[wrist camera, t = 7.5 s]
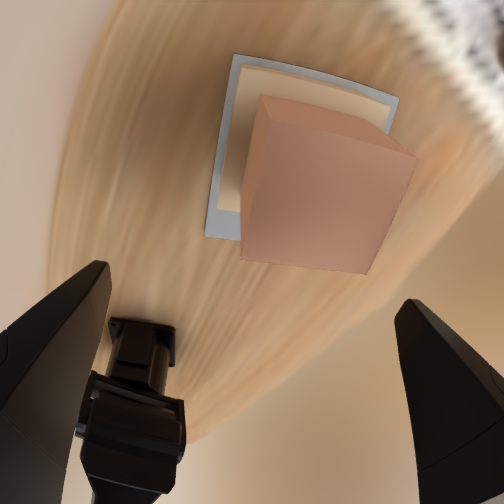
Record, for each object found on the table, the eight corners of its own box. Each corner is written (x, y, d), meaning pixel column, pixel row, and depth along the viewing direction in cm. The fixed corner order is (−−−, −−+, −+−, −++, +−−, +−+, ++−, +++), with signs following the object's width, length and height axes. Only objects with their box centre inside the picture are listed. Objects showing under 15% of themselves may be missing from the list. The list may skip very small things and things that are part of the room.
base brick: (329, 195, 20) (346, 229, 17) (220, 176, 19) (216, 209, 16) (361, 92, 16) (390, 106, 12) (241, 63, 15) (241, 68, 11)
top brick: (336, 210, 16) (366, 274, 12) (240, 194, 15) (240, 259, 11) (366, 119, 13) (418, 158, 9) (260, 94, 12) (270, 120, 8)
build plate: (339, 250, 23) (341, 255, 23) (205, 231, 22) (204, 236, 21) (395, 96, 16) (399, 98, 16) (234, 53, 15) (233, 53, 14)
